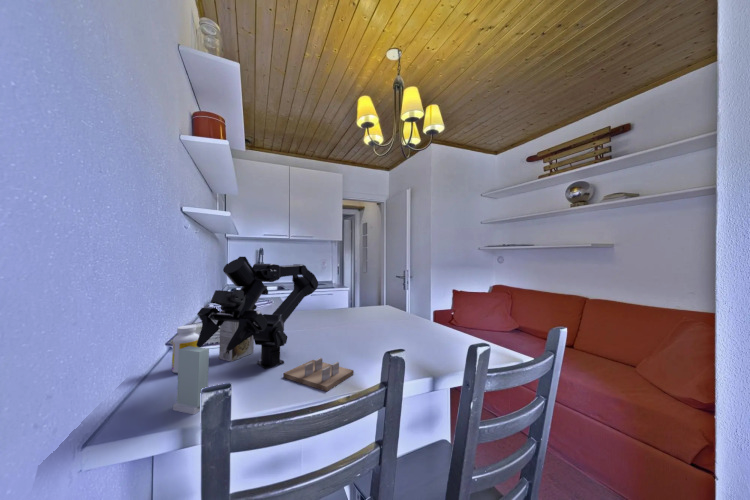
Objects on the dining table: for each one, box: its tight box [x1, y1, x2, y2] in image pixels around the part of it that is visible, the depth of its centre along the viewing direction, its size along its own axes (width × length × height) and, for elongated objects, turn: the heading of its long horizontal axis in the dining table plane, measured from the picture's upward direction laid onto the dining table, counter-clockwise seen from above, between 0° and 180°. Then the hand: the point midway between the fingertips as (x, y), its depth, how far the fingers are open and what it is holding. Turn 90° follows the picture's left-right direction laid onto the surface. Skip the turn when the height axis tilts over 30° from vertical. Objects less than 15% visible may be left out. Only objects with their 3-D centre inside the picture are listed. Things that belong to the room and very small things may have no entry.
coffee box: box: [218, 309, 255, 362], centre depth 92 cm, size 9×6×16 cm
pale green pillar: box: [172, 346, 210, 415], centre depth 60 cm, size 4×6×13 cm, turn 74°
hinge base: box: [282, 357, 355, 392], centre depth 77 cm, size 16×12×4 cm
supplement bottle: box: [171, 324, 200, 374], centre depth 81 cm, size 7×7×13 cm
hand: (212, 348), depth 65 cm, fingers open, 9 cm apart
